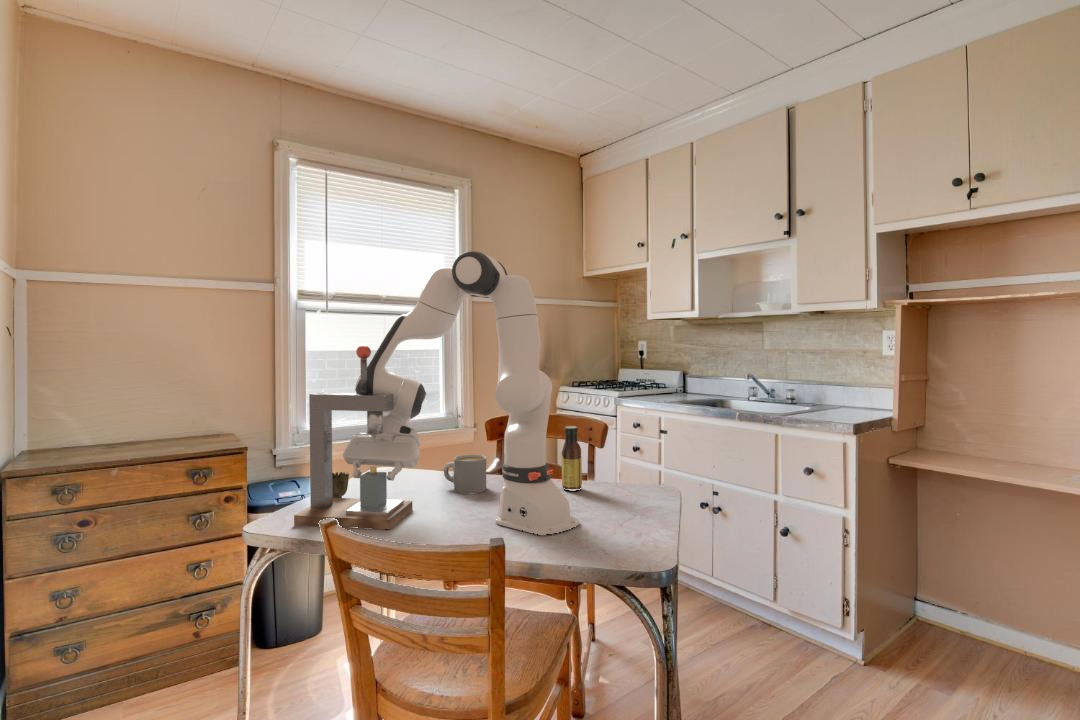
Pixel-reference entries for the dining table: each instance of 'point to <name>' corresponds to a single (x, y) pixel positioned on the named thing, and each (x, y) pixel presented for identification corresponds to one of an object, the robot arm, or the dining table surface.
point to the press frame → (322, 438)
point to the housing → (373, 488)
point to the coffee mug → (467, 473)
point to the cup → (339, 484)
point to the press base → (361, 521)
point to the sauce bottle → (571, 460)
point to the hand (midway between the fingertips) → (372, 478)
